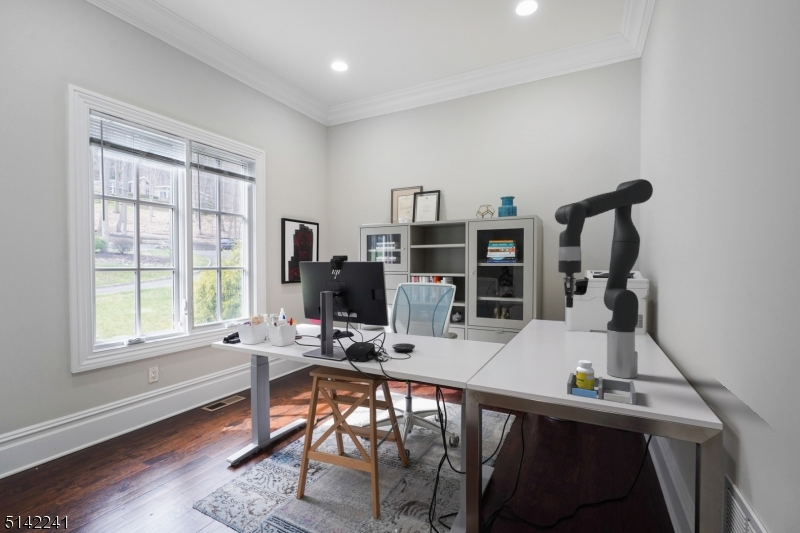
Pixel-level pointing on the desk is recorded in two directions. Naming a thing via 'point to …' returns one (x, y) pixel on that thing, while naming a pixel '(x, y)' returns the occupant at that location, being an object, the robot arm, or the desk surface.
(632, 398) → the divided storage rack
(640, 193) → the robot arm
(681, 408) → the desk surface
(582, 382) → the supplement bottle
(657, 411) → the desk surface
